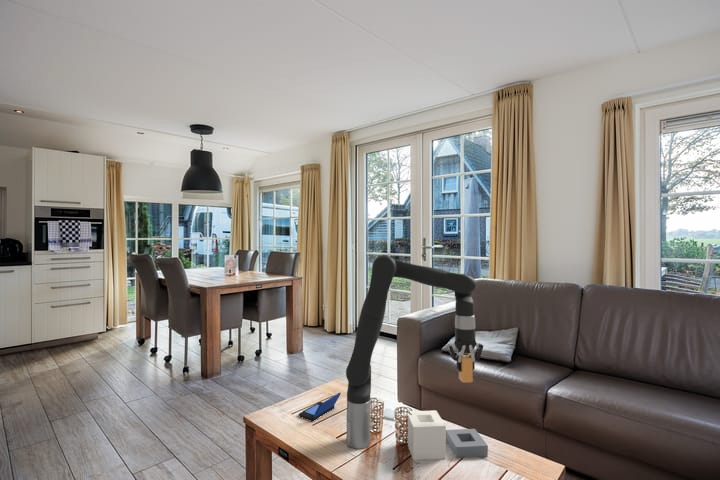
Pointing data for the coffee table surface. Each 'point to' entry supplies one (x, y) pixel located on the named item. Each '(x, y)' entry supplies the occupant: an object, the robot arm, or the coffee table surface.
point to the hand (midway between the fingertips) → (465, 370)
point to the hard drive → (389, 414)
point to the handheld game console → (319, 408)
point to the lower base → (466, 443)
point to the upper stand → (426, 435)
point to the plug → (466, 369)
